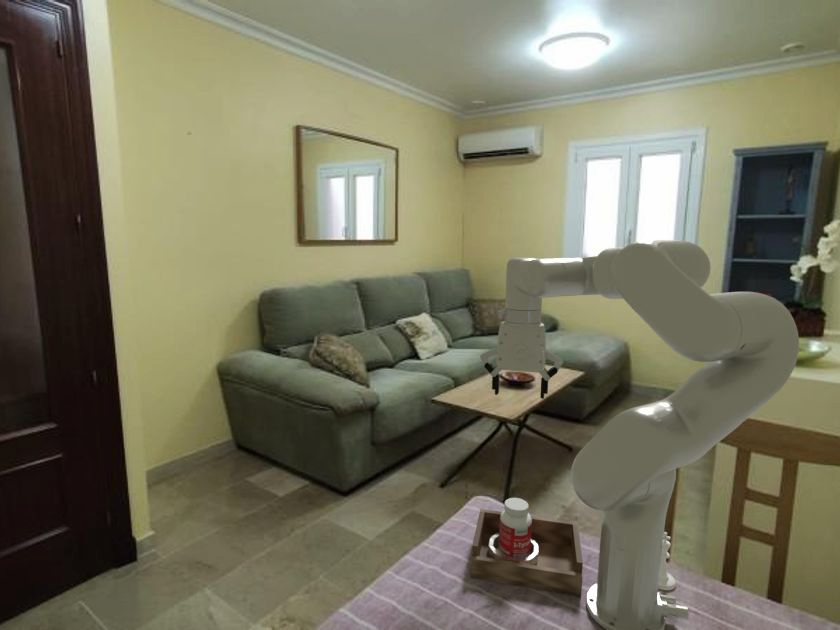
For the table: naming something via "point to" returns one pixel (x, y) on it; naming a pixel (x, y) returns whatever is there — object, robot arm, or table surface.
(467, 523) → the table surface
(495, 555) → the collar
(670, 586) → the chess piece
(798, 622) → the table surface
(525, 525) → the pill bottle
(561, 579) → the walled box
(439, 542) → the table surface
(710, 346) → the robot arm
